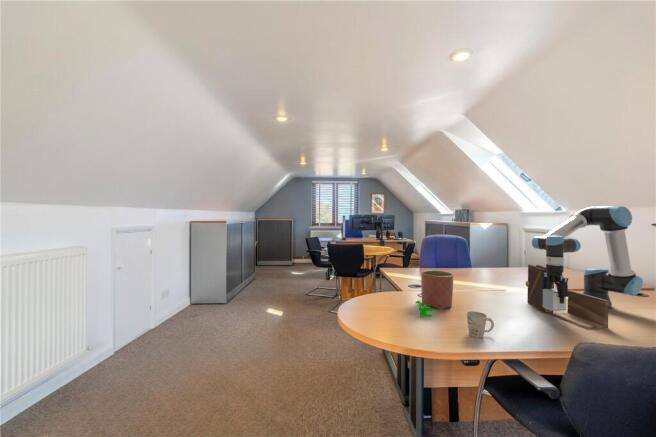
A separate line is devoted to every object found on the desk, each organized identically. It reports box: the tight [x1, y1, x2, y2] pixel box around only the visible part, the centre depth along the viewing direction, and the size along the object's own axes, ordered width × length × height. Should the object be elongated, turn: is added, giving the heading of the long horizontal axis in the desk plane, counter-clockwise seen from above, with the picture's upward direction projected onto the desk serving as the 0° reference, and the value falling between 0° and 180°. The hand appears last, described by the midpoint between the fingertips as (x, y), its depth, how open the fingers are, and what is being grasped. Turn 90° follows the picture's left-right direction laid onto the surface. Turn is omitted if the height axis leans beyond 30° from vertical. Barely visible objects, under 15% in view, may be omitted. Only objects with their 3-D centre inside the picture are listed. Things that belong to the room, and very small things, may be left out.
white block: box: [543, 288, 567, 312], centre depth 157 cm, size 8×6×10 cm
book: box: [525, 264, 555, 314], centre depth 180 cm, size 22×8×25 cm, turn 168°
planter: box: [420, 269, 455, 310], centre depth 183 cm, size 19×19×20 cm
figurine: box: [414, 299, 436, 318], centre depth 162 cm, size 6×12×9 cm, turn 98°
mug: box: [466, 310, 495, 339], centre depth 137 cm, size 8×13×10 cm, turn 95°
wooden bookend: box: [551, 289, 610, 330], centre depth 156 cm, size 12×20×14 cm, turn 7°
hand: (554, 306), depth 157 cm, fingers closed on white block, 6 cm apart
